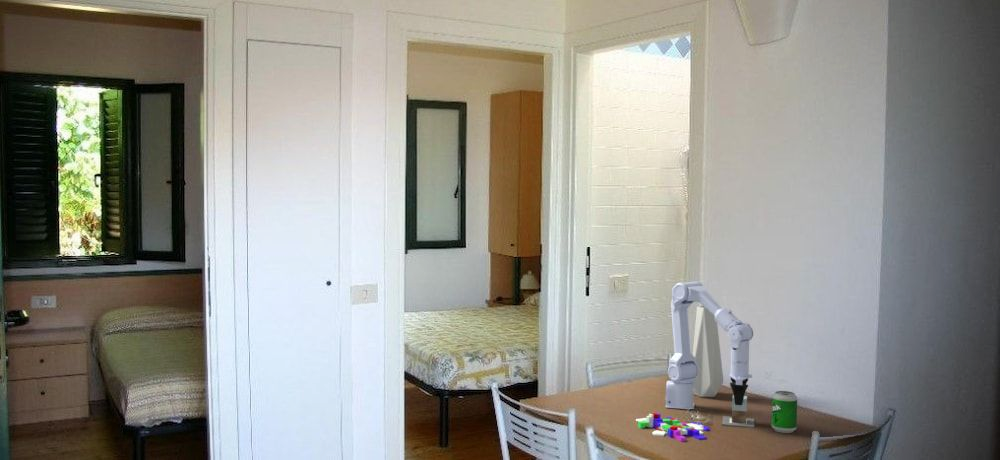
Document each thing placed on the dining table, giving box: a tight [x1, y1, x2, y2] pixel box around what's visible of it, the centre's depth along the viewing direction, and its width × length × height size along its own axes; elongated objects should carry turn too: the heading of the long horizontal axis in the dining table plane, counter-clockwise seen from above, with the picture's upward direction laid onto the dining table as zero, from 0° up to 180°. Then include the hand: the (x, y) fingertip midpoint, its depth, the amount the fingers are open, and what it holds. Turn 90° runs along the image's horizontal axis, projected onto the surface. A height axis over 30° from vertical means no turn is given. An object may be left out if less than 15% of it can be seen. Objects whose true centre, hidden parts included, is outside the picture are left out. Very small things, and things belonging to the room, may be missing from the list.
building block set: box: [635, 412, 711, 443], centre depth 271 cm, size 25×20×4 cm
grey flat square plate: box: [721, 415, 755, 429], centre depth 279 cm, size 10×10×1 cm
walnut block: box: [731, 409, 747, 424], centre depth 279 cm, size 4×4×4 cm
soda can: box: [771, 390, 798, 434], centre depth 270 cm, size 8×8×12 cm
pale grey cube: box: [731, 394, 748, 412], centre depth 279 cm, size 4×4×4 cm
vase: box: [692, 305, 724, 398], centre depth 315 cm, size 12×12×33 cm
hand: (738, 402), depth 279 cm, fingers open, 7 cm apart
